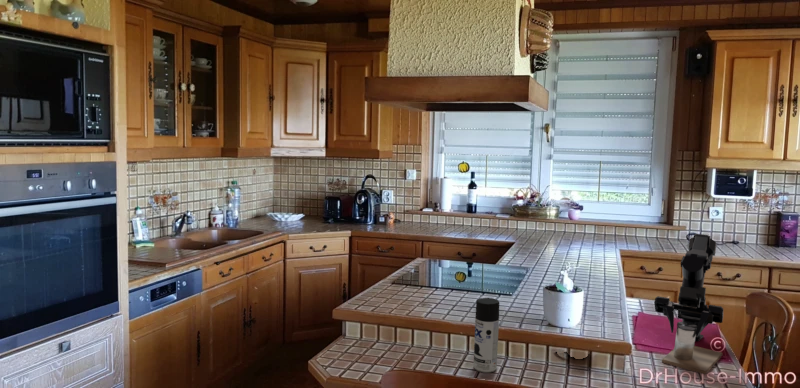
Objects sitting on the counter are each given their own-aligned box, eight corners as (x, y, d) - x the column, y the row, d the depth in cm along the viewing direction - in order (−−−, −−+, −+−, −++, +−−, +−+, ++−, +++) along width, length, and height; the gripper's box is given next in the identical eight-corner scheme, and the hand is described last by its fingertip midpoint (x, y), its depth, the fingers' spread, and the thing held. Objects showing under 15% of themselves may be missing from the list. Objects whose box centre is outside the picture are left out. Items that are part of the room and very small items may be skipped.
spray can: (469, 365, 176) (471, 298, 173) (489, 361, 179) (491, 296, 176) (480, 374, 170) (483, 305, 167) (501, 371, 173) (504, 303, 170)
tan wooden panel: (680, 345, 194) (681, 342, 194) (722, 356, 187) (722, 352, 186) (661, 362, 181) (662, 359, 181) (705, 374, 173) (705, 371, 173)
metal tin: (672, 351, 186) (676, 320, 185) (692, 355, 184) (696, 323, 183) (673, 358, 181) (677, 326, 180) (693, 361, 179) (697, 329, 178)
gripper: (657, 270, 187) (648, 315, 180) (726, 280, 178) (720, 328, 170) (659, 289, 195) (651, 332, 187) (725, 299, 186) (719, 345, 178)
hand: (684, 334), depth 180 cm, fingers open, 6 cm apart
